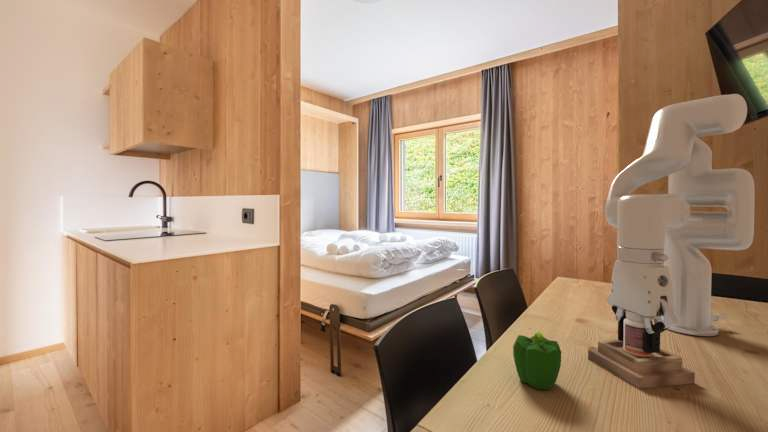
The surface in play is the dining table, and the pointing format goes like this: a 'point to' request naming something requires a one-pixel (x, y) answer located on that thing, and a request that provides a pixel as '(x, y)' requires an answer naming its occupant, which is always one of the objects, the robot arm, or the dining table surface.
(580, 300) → the dining table surface
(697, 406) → the dining table surface
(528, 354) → the bell pepper
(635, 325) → the pill bottle
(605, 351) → the plinth
